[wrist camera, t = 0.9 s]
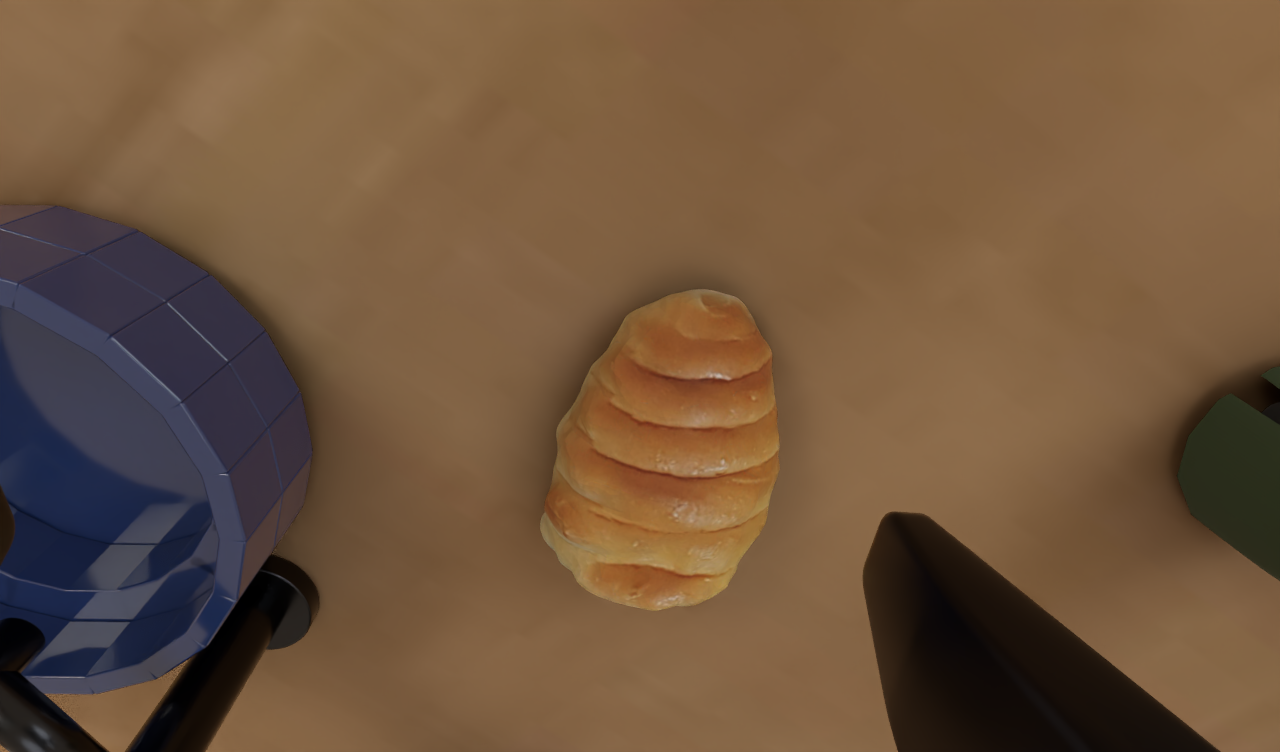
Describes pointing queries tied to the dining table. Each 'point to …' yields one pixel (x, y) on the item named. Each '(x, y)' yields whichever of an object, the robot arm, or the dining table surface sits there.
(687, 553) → the pastry
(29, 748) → the tap
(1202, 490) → the character mug
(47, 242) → the basin
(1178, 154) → the dining table surface
